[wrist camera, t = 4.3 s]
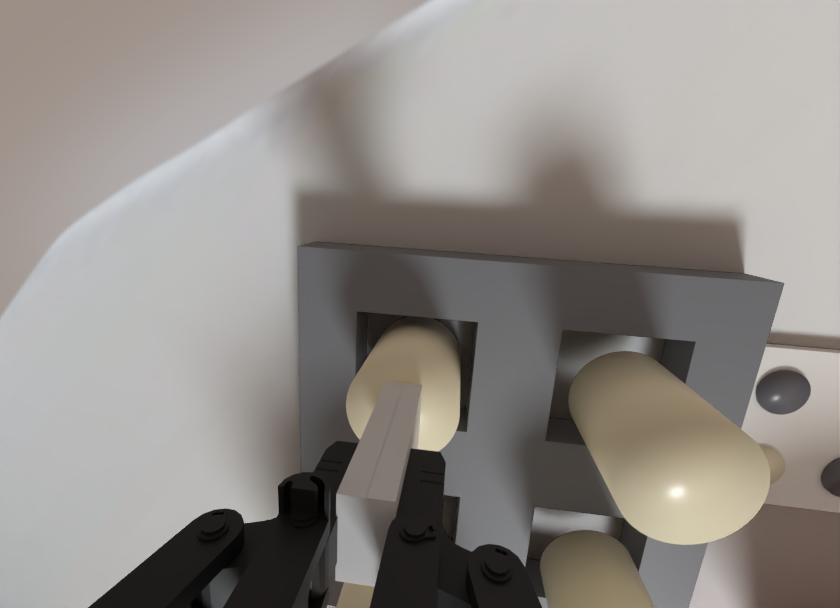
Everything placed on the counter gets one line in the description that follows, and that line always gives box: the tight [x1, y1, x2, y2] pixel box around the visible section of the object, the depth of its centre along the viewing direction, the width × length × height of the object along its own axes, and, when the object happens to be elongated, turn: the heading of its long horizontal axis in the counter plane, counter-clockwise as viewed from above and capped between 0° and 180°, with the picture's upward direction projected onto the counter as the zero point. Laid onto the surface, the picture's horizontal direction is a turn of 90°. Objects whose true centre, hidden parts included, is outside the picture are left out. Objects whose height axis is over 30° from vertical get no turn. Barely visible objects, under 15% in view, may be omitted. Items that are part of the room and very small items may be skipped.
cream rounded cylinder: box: [346, 316, 461, 451], centre depth 19 cm, size 5×5×6 cm
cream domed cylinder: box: [568, 351, 770, 545], centre depth 16 cm, size 5×5×6 cm
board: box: [298, 242, 784, 608], centre depth 22 cm, size 22×22×2 cm
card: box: [741, 344, 840, 513], centre depth 21 cm, size 9×9×1 cm
